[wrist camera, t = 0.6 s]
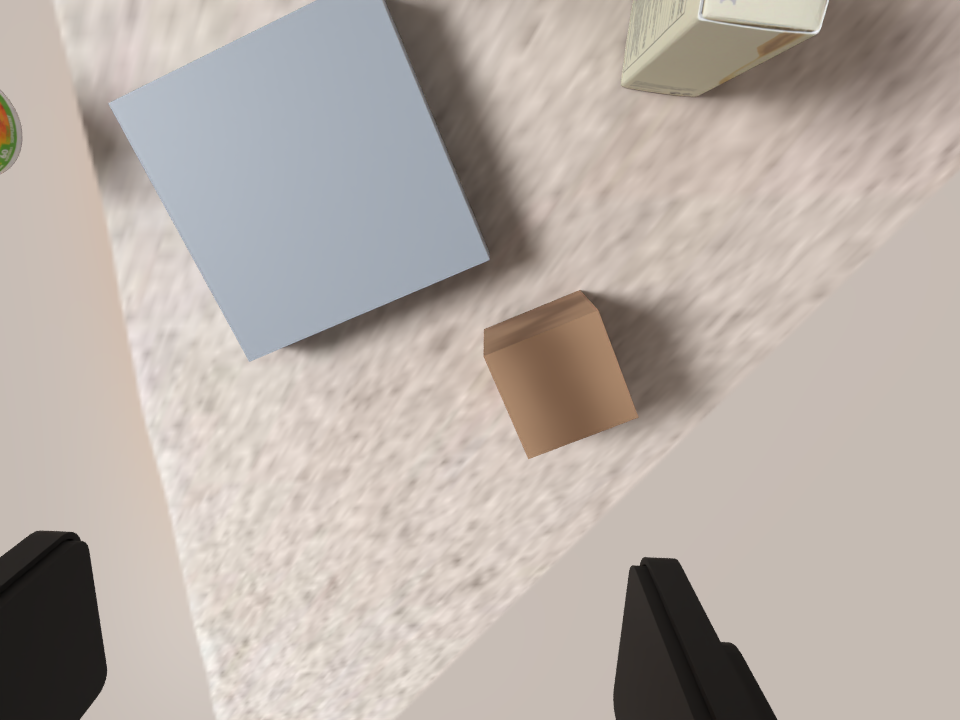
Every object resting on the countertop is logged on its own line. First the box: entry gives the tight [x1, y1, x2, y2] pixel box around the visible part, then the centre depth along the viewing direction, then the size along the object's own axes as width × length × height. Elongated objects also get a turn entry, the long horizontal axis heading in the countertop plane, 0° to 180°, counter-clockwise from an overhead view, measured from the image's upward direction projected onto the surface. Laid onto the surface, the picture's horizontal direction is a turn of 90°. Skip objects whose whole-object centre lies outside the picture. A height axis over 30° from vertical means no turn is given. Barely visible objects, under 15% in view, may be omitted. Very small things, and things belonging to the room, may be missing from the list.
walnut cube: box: [484, 290, 638, 459], centre depth 33 cm, size 6×6×6 cm
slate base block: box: [108, 0, 490, 362], centre depth 32 cm, size 14×14×4 cm
